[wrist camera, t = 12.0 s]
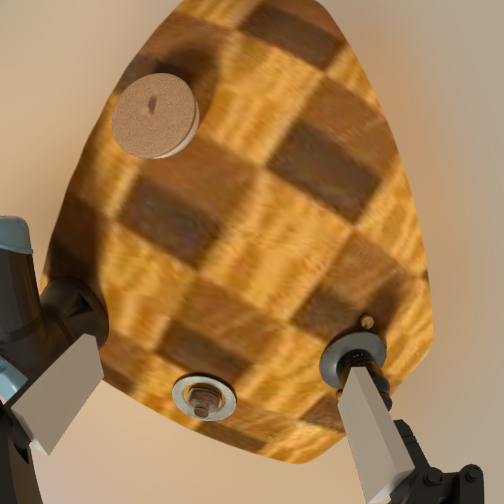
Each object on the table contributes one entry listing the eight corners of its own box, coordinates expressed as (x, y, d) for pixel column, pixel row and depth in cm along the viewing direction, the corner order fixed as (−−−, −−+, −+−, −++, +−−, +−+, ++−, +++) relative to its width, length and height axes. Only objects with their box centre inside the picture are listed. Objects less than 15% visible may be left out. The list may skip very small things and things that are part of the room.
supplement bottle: (372, 372, 42) (395, 418, 30) (335, 382, 42) (352, 432, 30) (372, 342, 40) (401, 386, 28) (333, 352, 41) (353, 402, 29)
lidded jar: (210, 155, 35) (195, 146, 26) (139, 168, 36) (106, 165, 27) (204, 85, 33) (189, 58, 24) (135, 101, 33) (104, 82, 24)
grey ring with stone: (223, 423, 47) (221, 439, 42) (167, 402, 46) (160, 418, 42) (246, 387, 44) (245, 404, 40) (182, 362, 43) (175, 379, 39)
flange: (309, 397, 44) (310, 403, 43) (331, 312, 40) (334, 316, 39) (367, 395, 44) (369, 400, 43) (397, 314, 40) (401, 318, 38)
